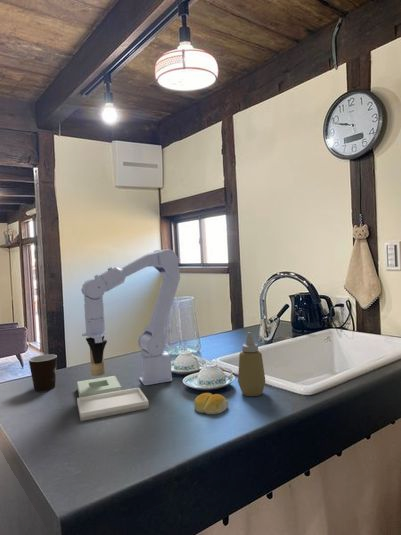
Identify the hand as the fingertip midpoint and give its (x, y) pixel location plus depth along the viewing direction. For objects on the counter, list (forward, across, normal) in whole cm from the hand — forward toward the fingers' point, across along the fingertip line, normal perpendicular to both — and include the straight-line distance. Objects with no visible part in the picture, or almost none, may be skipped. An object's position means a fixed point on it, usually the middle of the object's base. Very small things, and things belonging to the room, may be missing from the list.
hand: (97, 361), depth 121 cm
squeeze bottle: (+10, +24, +41) cm, 49 cm away
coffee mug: (+10, -14, -15) cm, 23 cm away
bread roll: (+10, +28, +26) cm, 40 cm away
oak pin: (+4, 0, 0) cm, 4 cm away
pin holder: (+10, 0, 0) cm, 10 cm away
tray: (+10, +14, +2) cm, 17 cm away
